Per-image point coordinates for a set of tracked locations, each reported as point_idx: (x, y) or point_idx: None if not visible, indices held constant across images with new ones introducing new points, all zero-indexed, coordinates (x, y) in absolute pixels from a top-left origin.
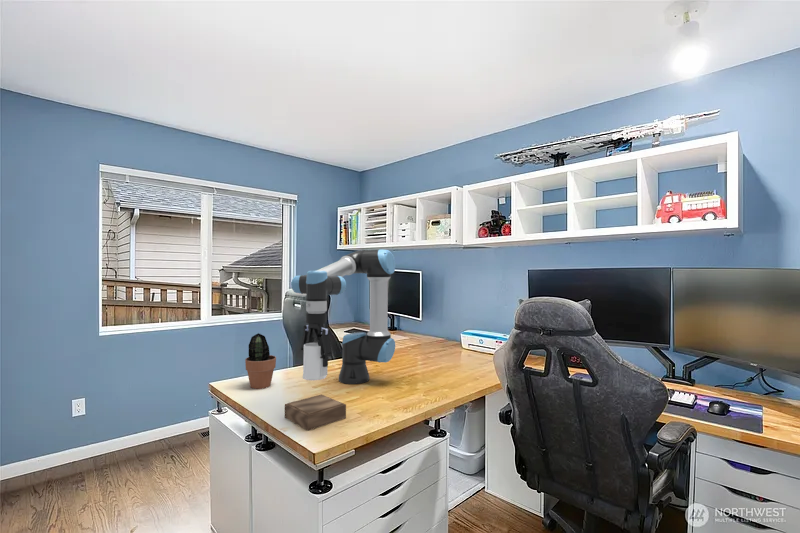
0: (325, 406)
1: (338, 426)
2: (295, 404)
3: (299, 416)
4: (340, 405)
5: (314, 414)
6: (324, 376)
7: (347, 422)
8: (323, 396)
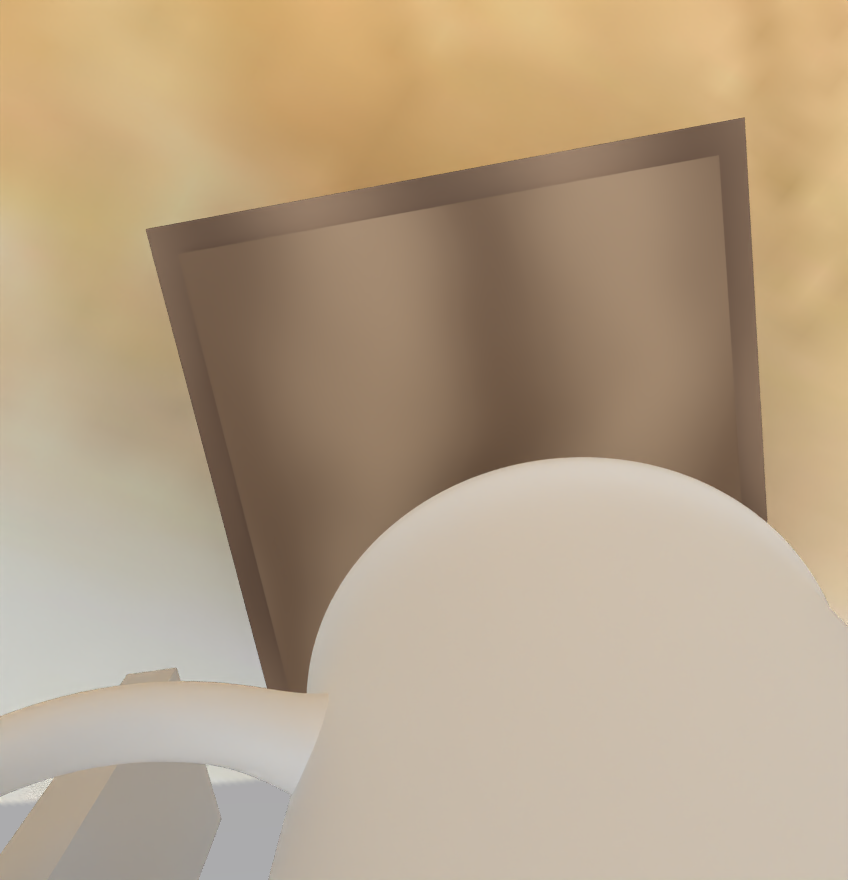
0: (664, 405)
1: (829, 315)
2: None
3: None
4: (729, 206)
5: None
6: (820, 591)
7: (804, 182)
8: (277, 259)
